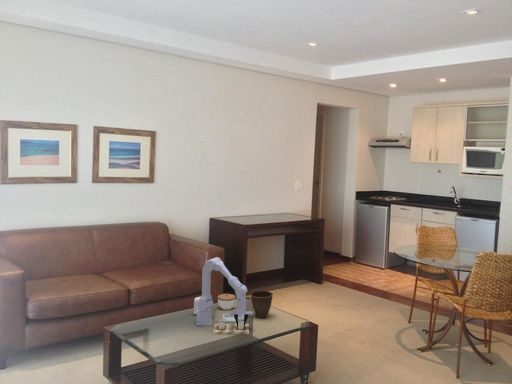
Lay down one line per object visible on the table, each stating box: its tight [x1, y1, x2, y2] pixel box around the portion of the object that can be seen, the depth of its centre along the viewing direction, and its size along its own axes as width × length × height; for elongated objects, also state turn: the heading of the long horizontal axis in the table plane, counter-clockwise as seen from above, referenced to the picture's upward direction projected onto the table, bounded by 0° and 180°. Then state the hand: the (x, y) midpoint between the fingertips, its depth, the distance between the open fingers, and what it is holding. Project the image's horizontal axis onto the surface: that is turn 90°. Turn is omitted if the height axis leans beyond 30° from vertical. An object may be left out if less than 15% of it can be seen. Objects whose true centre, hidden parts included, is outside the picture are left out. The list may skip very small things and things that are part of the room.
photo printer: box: [193, 296, 201, 315], centre depth 330 cm, size 10×4×12 cm, turn 98°
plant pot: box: [250, 290, 274, 319], centre depth 327 cm, size 15×15×16 cm
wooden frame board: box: [212, 323, 250, 335], centre depth 302 cm, size 22×14×2 cm, turn 92°
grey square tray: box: [222, 313, 244, 324], centre depth 318 cm, size 14×14×2 cm
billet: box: [218, 318, 226, 330], centre depth 302 cm, size 4×6×6 cm, turn 2°
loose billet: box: [237, 318, 245, 330], centre depth 302 cm, size 4×6×6 cm, turn 2°
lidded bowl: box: [217, 292, 237, 311], centre depth 343 cm, size 13×13×11 cm
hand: (240, 326), depth 303 cm, fingers closed on loose billet, 3 cm apart
